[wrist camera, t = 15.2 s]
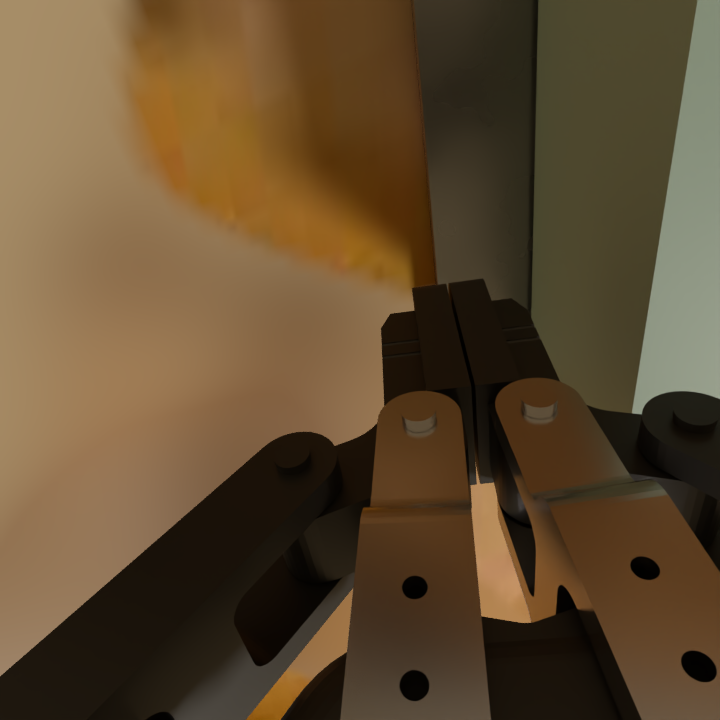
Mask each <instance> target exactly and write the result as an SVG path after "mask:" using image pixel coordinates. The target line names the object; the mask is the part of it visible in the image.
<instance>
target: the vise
mask: <svg viewBox="0 0 720 720" xmlns="http://www.w3.org/2000/svg"><path fill="white" fill-rule="evenodd" d="M411 3H412V15H413V26H414V38H415V49H416V61H417V72H418V84H419V95H420V107H421V118H422V130H423V141H424V153H425V164H426V176H427V187H428V199H429V210H430V222H431V233H432V245H433V256H434V268H435V279H436V285H438V284H446V285H447V289H448V283H452V282H460V281H467V280H475V279H482V278H483V279H484V281H485V284H486V286H487V289H488V292H489V295H490V297H491V300H492V301H493V300H501V299H508V298H512V299H513V300H515V301H516V302H518V303H519V304H520V305H522V306H523V307H525V308H526V309H527V310H528V312H529V314H530V316H531V308H532V263H533V219H534V174H535V129H536V84H537V39H538V0H411Z"/></svg>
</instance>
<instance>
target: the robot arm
mask: <svg viewBox="0 0 720 720" xmlns="http://www.w3.org/2000/svg"><path fill="white" fill-rule="evenodd" d="M412 292H413V301H414V310H415V311H409V312H401V313H394V314H390V315H389V317H388V318H387V320H386V322H385V323H384V325H383V326H382V328H381V336H382V357H383V359H382V360H383V383H384V407H383V408H382V410H381V411H380V414H379V416H378V422H377V424H376V425H375V426H374V427H373V428H372V429H371V430H369V431H368V432H366V433H365V434H363V435H361V436H360V437H358V438H355V439H353V440H350V441H348V442H345V443H342V444H339V445H337V446H334V445H333V443H332V442H331V441H330V440H329V439H327V438H326V437H324V436H323V435H320V434H317V433H312V432H296V433H291V434H287V435H284V436H281V437H279V438H277V439H275V440H273V441H272V442H270V443H269V444H267V445H266V446H265V447H263V448H262V449H261V450H260V451H259V452H258V453H257V454H255V455H254V456H253V457H252V458H251V459H250V460H249V461H247V462H246V463H245V464H244V465H243V466H242V467H240V468H239V469H238V470H237V471H236V472H235V473H234V474H232V475H231V476H230V477H229V478H228V479H227V480H226V481H224V482H223V483H222V484H221V485H220V486H219V487H217V488H216V489H215V490H214V491H213V492H212V493H211V494H209V495H208V496H207V497H206V498H205V499H204V500H203V501H201V502H200V503H199V504H198V505H197V506H196V507H194V508H193V509H192V510H191V511H190V512H189V513H188V514H186V515H185V516H184V517H183V518H182V519H181V520H180V521H178V522H177V523H176V524H175V525H174V526H173V527H172V528H170V529H169V530H168V531H167V532H166V533H165V534H164V535H162V536H161V537H160V538H159V539H158V540H157V541H155V542H154V543H153V544H152V545H151V546H150V547H148V548H147V549H146V550H145V551H144V552H143V553H142V554H141V555H139V556H138V557H137V558H136V559H135V560H134V561H133V562H132V563H130V564H129V565H128V566H127V567H126V568H125V569H123V570H122V571H121V572H120V573H119V574H117V575H116V576H115V577H114V578H113V579H112V580H111V581H110V582H108V583H107V584H106V585H105V586H104V587H103V588H101V589H100V590H99V591H98V592H97V593H96V594H95V595H93V596H92V597H91V598H90V599H89V600H88V601H86V602H85V603H84V604H83V605H82V606H81V607H80V608H78V609H77V610H76V611H75V612H74V613H73V614H71V615H70V616H69V617H68V618H67V619H66V620H65V621H64V622H62V623H61V624H60V625H59V626H58V627H57V628H55V629H54V630H53V631H52V632H51V633H50V634H49V635H47V636H46V637H45V638H44V639H43V640H42V641H40V642H39V643H38V644H37V645H36V646H35V647H34V648H33V649H31V650H30V651H29V652H28V653H27V654H26V655H24V656H23V657H22V658H21V659H20V660H19V661H18V662H16V663H15V664H14V665H13V666H12V667H11V668H9V669H8V670H7V671H6V672H5V673H4V674H3V675H1V676H0V720H246V719H247V717H248V716H249V715H250V714H251V713H252V711H253V710H254V709H255V708H256V706H257V705H258V704H259V703H260V701H261V700H262V699H263V698H264V697H265V695H266V694H267V693H268V692H269V690H270V689H271V688H272V687H273V686H274V684H275V683H276V682H277V681H278V679H279V678H280V677H281V676H282V674H283V673H284V672H285V671H286V670H287V668H288V667H289V666H290V665H291V663H292V662H293V661H294V660H295V658H296V657H297V656H298V655H299V653H300V652H301V651H302V650H303V649H304V647H305V646H306V645H307V644H308V643H309V641H310V640H311V639H312V637H313V636H314V635H315V634H316V633H317V631H318V630H319V629H320V628H321V627H322V625H323V624H324V623H325V622H326V620H327V619H328V618H329V617H330V615H331V614H332V613H333V612H334V611H335V609H336V608H337V607H338V606H339V605H340V603H341V602H342V601H343V600H344V598H345V597H346V596H347V595H348V593H349V592H350V591H351V590H352V588H353V597H352V607H351V617H350V627H349V637H348V648H347V652H346V653H345V654H344V655H342V656H340V657H339V658H337V659H336V660H334V661H333V662H332V663H330V664H329V665H328V666H327V667H326V668H324V669H323V670H322V671H321V672H320V673H318V674H317V675H316V676H315V677H314V679H313V680H312V681H311V682H310V683H309V684H308V685H307V686H306V687H305V688H304V689H303V690H302V692H301V693H300V694H299V696H298V697H297V698H296V699H295V701H294V702H293V704H292V705H291V706H290V708H289V709H288V710H287V712H286V713H285V715H284V716H283V717H282V719H281V720H720V399H718V398H716V397H713V396H710V395H707V394H703V393H697V392H690V391H674V392H667V393H663V394H660V395H658V396H655V397H653V398H652V399H650V400H649V401H648V402H647V403H646V404H645V406H644V408H643V411H642V414H633V413H624V412H615V411H607V410H602V409H598V408H594V407H591V406H588V405H586V403H585V402H584V400H583V399H582V397H581V396H580V394H579V393H578V392H577V391H576V390H575V389H573V388H572V387H570V386H569V385H567V384H565V383H562V382H560V380H559V378H558V376H557V373H556V371H555V369H554V367H553V365H552V362H551V360H550V358H549V356H548V354H547V351H546V349H545V347H544V345H543V343H542V340H540V336H539V334H538V332H537V329H536V327H534V323H533V321H532V318H531V316H530V314H529V312H528V310H527V309H526V308H525V307H523V306H522V305H520V304H519V303H518V302H516V301H515V300H513V299H512V298H508V299H501V300H493V301H492V300H491V297H490V295H489V292H488V289H487V286H486V284H485V281H484V279H483V278H482V279H475V280H467V281H460V282H452V283H448V289H447V285H446V284H438V285H431V286H423V287H416V288H412ZM475 462H476V464H475ZM476 467H477V471H478V476H479V480H480V484H483V483H493V482H494V485H495V489H496V493H497V502H498V519H499V523H500V526H501V529H502V532H503V535H504V538H505V541H506V544H507V547H508V550H509V553H510V556H511V559H512V562H513V565H514V568H515V571H516V574H517V577H518V580H519V583H520V586H521V589H522V592H523V595H524V598H525V601H526V604H527V607H528V611H529V614H530V619H531V623H518V622H512V621H505V620H500V619H493V618H488V617H482V616H481V609H480V597H479V587H478V576H477V566H476V555H475V544H474V534H473V523H472V513H471V508H472V503H471V488H470V485H475V484H477V482H476Z"/></svg>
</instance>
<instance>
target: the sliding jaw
mask: <svg viewBox="0 0 720 720" xmlns="http://www.w3.org/2000/svg"><path fill="white" fill-rule="evenodd" d="M531 318H532V321H533V323H534V327H536V329H537V332H538V334H539V336H540V340H542V343H543V345H544V347H545V349H546V351H547V354H548V356H549V358H550V360H551V362H552V365H553V367H554V369H555V371H556V373H557V376H558V378H559V380H560V382H562V383H565V384H567V385H569V386H570V387H572V388H573V389H575V390H576V391H577V392H578V393H579V394H580V396H581V397H582V399H583V400H584V402H585V403H586V405H588V406H591V407H594V408H598V409H602V410H607V411H615V412H624V413H633V414H642V411H643V408H644V406H645V404H646V403H647V402H648V401H649V400H650V399H652V398H653V397H655V396H658V395H660V394H663V393H667V392H674V391H690V392H697V393H703V394H707V395H710V396H713V397H716V398H718V399H720V0H538V39H537V84H536V129H535V174H534V219H533V263H532V308H531Z"/></svg>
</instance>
